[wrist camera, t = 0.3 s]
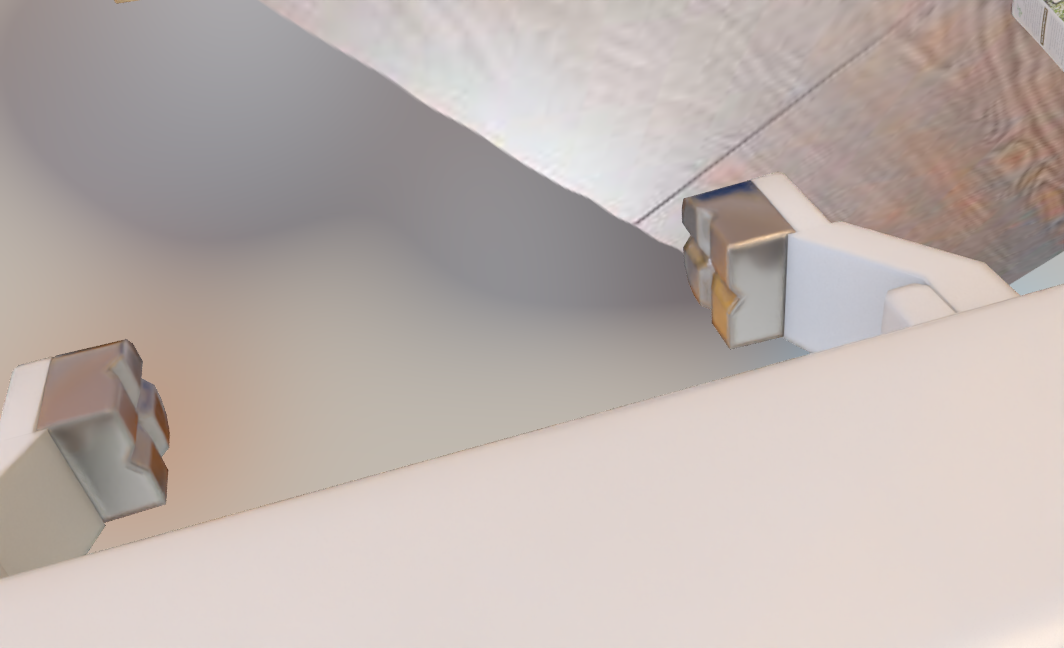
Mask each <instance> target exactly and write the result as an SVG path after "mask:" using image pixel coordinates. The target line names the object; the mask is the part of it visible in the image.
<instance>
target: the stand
mask: <svg viewBox="0 0 1064 648" xmlns="http://www.w3.org/2000/svg"><path fill="white" fill-rule="evenodd" d="M114 1H115V3H124V2H130V1H136V0H114Z"/></svg>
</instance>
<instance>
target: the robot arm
mask: <svg viewBox="0 0 1064 648" xmlns="http://www.w3.org/2000/svg"><path fill="white" fill-rule="evenodd" d="M682 223H683V224H684V226H685V227H686V229H687V230H688V232H689V233H690V235H691V236H690V237H689V239H688V241H687V242H686V244H685V246H684V247H683V251H684V264H685V269H686V274H687V278H688V282H689V284H690V287H691V289H692V292H693V294H694V296H695V298H696V299H697V301H698V302H699V304H700V305H701V306H703V307H706V308H708V309H711V310H712V324H713V325H714V327H715V328H716V330H717V331H718V333H719V334H720V336H721V337H722V339H723V340H724V342H725V343H726V345H727V346H728V348H729V349H730V350H731V349H735V348H739V347H743V346H747V345H751V344H755V343H759V342H763V341H767V340H771V339H775V338H779V337H783V336H784V339H785V340H787V341H789V342H791V343H793V344H795V345H797V346H799V347H801V348H803V349H804V350H806V351H808V352H810V353H811V354H808V355H804V356H801V357H797V358H793V359H790V360H786V361H783V362H779V363H776V364H772V365H768V366H765V367H761V368H758V369H754V370H750V371H747V372H743V373H739V374H736V375H732V376H729V377H725V378H721V379H718V380H714V381H711V382H707V383H704V384H700V385H696V386H693V387H689V388H685V389H682V390H679V391H675V392H671V393H667V394H664V395H660V396H657V397H653V398H649V399H646V400H643V401H639V402H635V403H631V404H628V405H624V406H621V407H617V408H613V409H610V410H606V411H603V412H599V413H595V414H592V415H588V416H585V417H581V418H577V419H574V420H570V421H567V422H563V423H559V424H556V425H552V426H548V427H545V428H541V429H538V430H534V431H531V432H527V433H523V434H520V435H516V436H513V437H509V438H506V439H502V440H498V441H495V442H491V443H487V444H484V445H480V446H477V447H473V448H469V449H466V450H462V451H458V452H455V453H452V454H448V455H444V456H440V457H437V458H433V459H430V460H426V461H422V462H419V463H415V464H411V465H408V466H404V467H401V468H397V469H393V470H390V471H386V472H383V473H379V474H376V475H372V476H368V477H365V478H361V479H357V480H354V481H350V482H347V483H343V484H340V485H336V486H332V487H329V488H325V489H322V490H318V491H314V492H311V493H307V494H303V495H300V496H296V497H293V498H289V499H286V500H282V501H278V502H274V503H271V504H267V505H264V506H260V507H257V508H253V509H249V510H246V511H242V512H238V513H235V514H231V515H228V516H224V517H221V518H217V519H213V520H210V521H206V522H202V523H199V524H195V525H192V526H188V527H185V528H181V529H177V530H174V531H170V532H167V533H163V534H159V535H156V536H152V537H148V538H145V539H141V540H138V541H134V542H130V543H127V544H123V545H120V546H116V547H112V548H109V549H105V550H101V551H98V552H94V553H91V554H87V553H88V551H89V550H90V548H91V547H92V545H93V544H94V542H95V541H96V539H97V538H98V536H99V535H100V533H101V532H102V530H103V529H104V527H105V526H106V525H105V524H104V523H105V522H109V521H112V520H115V519H119V518H122V517H125V516H129V515H132V514H135V513H138V512H142V511H145V510H149V509H152V508H155V507H159V506H162V505H165V504H166V498H167V480H168V469H167V467H166V465H165V463H164V461H163V460H162V456H163V455H164V453H165V452H166V451H167V450H168V448H169V434H170V432H169V426H168V421H167V415H166V412H165V408H164V406H163V403H162V400H161V397H160V395H159V393H158V391H157V389H156V387H155V385H153V384H151V383H149V382H147V381H146V380H144V379H142V378H141V376H142V363H143V361H142V359H141V358H140V356H139V354H138V352H137V350H136V348H135V347H134V345H133V343H131V342H130V341H128V340H127V339H125V340H121V341H117V342H112V343H108V344H104V345H100V346H96V347H92V348H87V349H83V350H78V351H74V352H70V353H65V354H61V355H57V356H55V357H48V358H44V359H40V360H36V361H33V362H29V363H25V364H21V365H18V366H17V367H16V368H15V369H13V371H12V375H11V378H10V382H9V386H8V390H7V394H6V398H5V402H4V406H3V409H2V413H1V417H0V648H1064V284H1061V285H1057V286H1054V287H1050V288H1046V289H1043V290H1040V291H1036V292H1032V293H1028V294H1025V295H1022V296H1020V295H1019V294H1018V293H1017V292H1016V291H1014V289H1012V288H1011V287H1010V286H1009V285H1008V284H1007V283H1006V282H1005V281H1004V280H1003V279H1002V278H1000V277H999V276H998V275H997V274H996V273H995V272H994V271H993V270H992V269H991V268H989V267H988V266H987V265H986V264H985V263H984V262H980V261H977V260H973V259H970V258H966V257H963V256H959V255H956V254H952V253H949V252H946V251H942V250H939V249H935V248H932V247H928V246H925V245H921V244H918V243H914V242H911V241H908V240H904V239H901V238H897V237H894V236H890V235H887V234H883V233H880V232H876V231H873V230H870V229H866V228H863V227H859V226H856V225H852V224H849V223H845V222H842V221H839V222H835V223H831V222H830V221H829V220H828V219H827V218H826V217H825V216H824V215H823V214H822V213H821V212H820V211H819V210H818V209H817V208H816V207H815V206H814V205H813V204H812V203H811V202H810V201H809V199H808V198H807V197H806V196H805V195H804V194H803V193H802V192H801V191H800V190H799V189H798V188H797V187H796V186H795V185H794V184H793V183H792V182H791V181H790V180H789V179H788V178H787V177H786V175H785V174H784V173H780V172H775V173H771V174H768V175H764V176H761V177H757V178H754V179H751V180H747V181H746V182H742V183H738V184H735V185H731V186H727V187H724V188H720V189H716V190H713V191H709V192H705V193H702V194H698V195H695V196H691V197H687V198H684V199H683V204H682ZM86 554H87V555H86Z"/></svg>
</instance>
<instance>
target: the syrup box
mask: <svg viewBox="0 0 1064 648" xmlns="http://www.w3.org/2000/svg"><path fill="white" fill-rule="evenodd" d="M1012 15H1013V17H1014V18H1015V19H1016V20H1017V21H1018V22H1019V23H1020V24H1021V25H1022V26H1023V27H1024V28H1025V29H1026V30H1027V31H1028V32H1029V33H1030V35H1031V36H1032V37H1033V38H1034V39H1035V40H1036V41H1037V42H1038V43H1039V45H1040V46H1041V47H1042V48H1043V49H1044V50H1045V51H1046V52H1047V53H1048V55H1049V56H1050V57H1051V58H1052V59H1053V60H1054V61H1055V63H1056V64H1057V65H1058V66H1059V67H1060V68H1061V69H1062V71H1063V72H1064V0H1013V4H1012Z"/></svg>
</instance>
